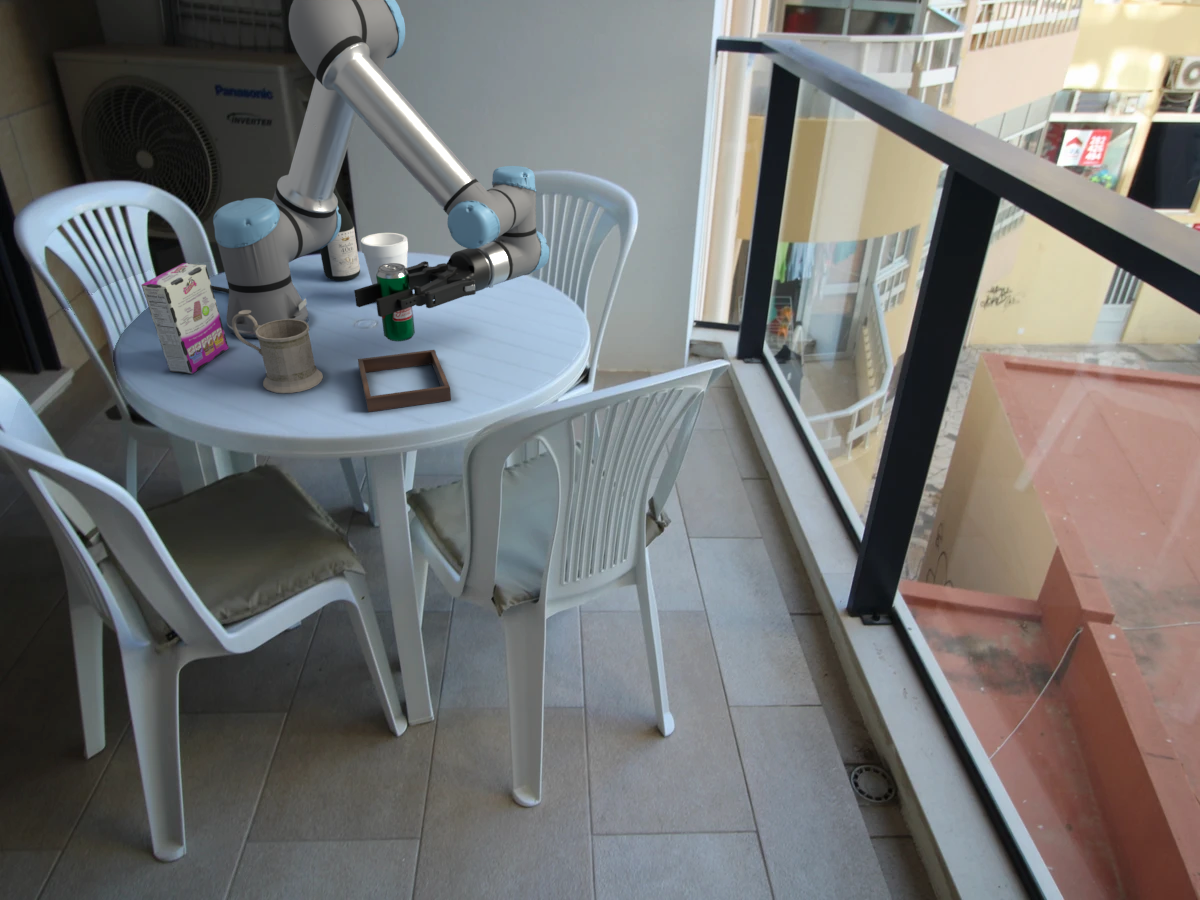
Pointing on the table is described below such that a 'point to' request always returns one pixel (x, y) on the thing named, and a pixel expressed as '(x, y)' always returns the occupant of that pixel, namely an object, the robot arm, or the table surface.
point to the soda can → (391, 282)
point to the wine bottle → (341, 249)
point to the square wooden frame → (408, 396)
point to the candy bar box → (186, 317)
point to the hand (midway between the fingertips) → (367, 303)
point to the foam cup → (384, 251)
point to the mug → (284, 354)
